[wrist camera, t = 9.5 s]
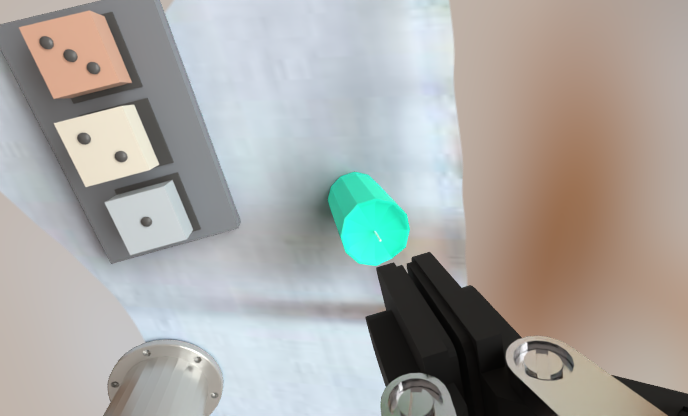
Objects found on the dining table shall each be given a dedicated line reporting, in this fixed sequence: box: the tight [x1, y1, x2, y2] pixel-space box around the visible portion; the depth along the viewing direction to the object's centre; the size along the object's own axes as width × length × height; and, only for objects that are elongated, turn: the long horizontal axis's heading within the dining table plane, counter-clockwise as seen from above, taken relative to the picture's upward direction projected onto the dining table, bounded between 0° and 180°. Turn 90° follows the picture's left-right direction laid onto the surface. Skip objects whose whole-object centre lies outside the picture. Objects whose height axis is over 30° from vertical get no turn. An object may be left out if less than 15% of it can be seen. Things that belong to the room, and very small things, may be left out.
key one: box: [104, 180, 193, 255], centre depth 34 cm, size 5×5×3 cm
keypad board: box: [0, 0, 241, 264], centre depth 35 cm, size 22×13×2 cm, turn 14°
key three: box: [19, 10, 132, 99], centre depth 29 cm, size 5×5×2 cm
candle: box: [328, 172, 410, 266], centre depth 35 cm, size 6×6×12 cm
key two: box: [54, 105, 159, 187], centre depth 30 cm, size 5×5×2 cm
